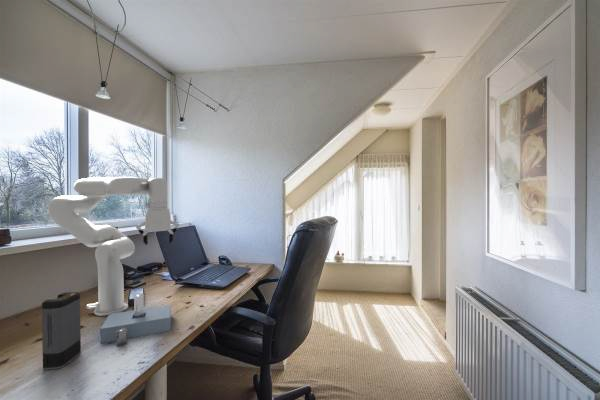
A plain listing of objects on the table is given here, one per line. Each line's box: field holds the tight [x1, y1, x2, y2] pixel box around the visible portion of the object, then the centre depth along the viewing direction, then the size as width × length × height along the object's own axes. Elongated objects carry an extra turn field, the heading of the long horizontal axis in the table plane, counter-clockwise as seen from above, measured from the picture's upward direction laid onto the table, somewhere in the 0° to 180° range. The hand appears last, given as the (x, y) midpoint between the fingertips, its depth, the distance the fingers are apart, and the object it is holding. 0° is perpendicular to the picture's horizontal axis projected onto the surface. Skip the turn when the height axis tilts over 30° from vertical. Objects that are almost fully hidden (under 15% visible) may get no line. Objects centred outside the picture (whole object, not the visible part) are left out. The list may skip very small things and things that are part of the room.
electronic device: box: [41, 291, 82, 370], centre depth 86 cm, size 9×6×20 cm, turn 5°
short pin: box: [115, 328, 128, 348], centre depth 95 cm, size 3×3×5 cm
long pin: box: [133, 293, 145, 318], centre depth 107 cm, size 3×3×13 cm
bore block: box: [99, 304, 172, 344], centre depth 107 cm, size 22×14×5 cm, turn 114°
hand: (158, 243), depth 124 cm, fingers open, 9 cm apart
